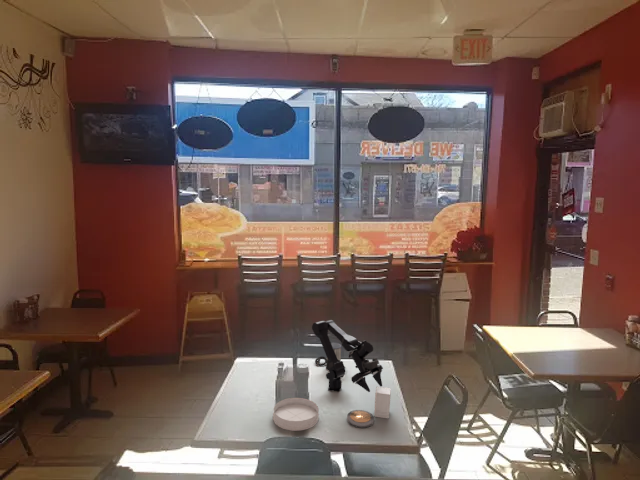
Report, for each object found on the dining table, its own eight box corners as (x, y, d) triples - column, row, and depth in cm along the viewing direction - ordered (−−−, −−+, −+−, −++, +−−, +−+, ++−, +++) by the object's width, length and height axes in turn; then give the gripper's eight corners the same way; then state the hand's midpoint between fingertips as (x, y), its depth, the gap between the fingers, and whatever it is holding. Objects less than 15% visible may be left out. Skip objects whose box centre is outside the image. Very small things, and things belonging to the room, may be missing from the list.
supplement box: (388, 418, 225) (390, 394, 223) (373, 416, 226) (375, 392, 224) (389, 411, 232) (391, 387, 230) (375, 409, 234) (376, 385, 232)
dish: (328, 419, 224) (328, 409, 223) (294, 437, 208) (294, 426, 207) (297, 402, 239) (297, 393, 238) (263, 417, 224) (263, 408, 223)
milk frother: (341, 371, 275) (342, 348, 273) (314, 371, 275) (315, 347, 272) (339, 362, 289) (340, 339, 287) (314, 361, 289) (315, 339, 287)
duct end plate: (345, 426, 218) (345, 421, 217) (348, 411, 230) (348, 408, 230) (372, 429, 215) (373, 425, 215) (374, 415, 228) (374, 411, 228)
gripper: (356, 358, 226) (372, 388, 220) (381, 349, 239) (396, 377, 232) (344, 368, 233) (359, 397, 227) (369, 359, 246) (384, 386, 239)
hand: (375, 389), depth 231 cm, fingers open, 9 cm apart
